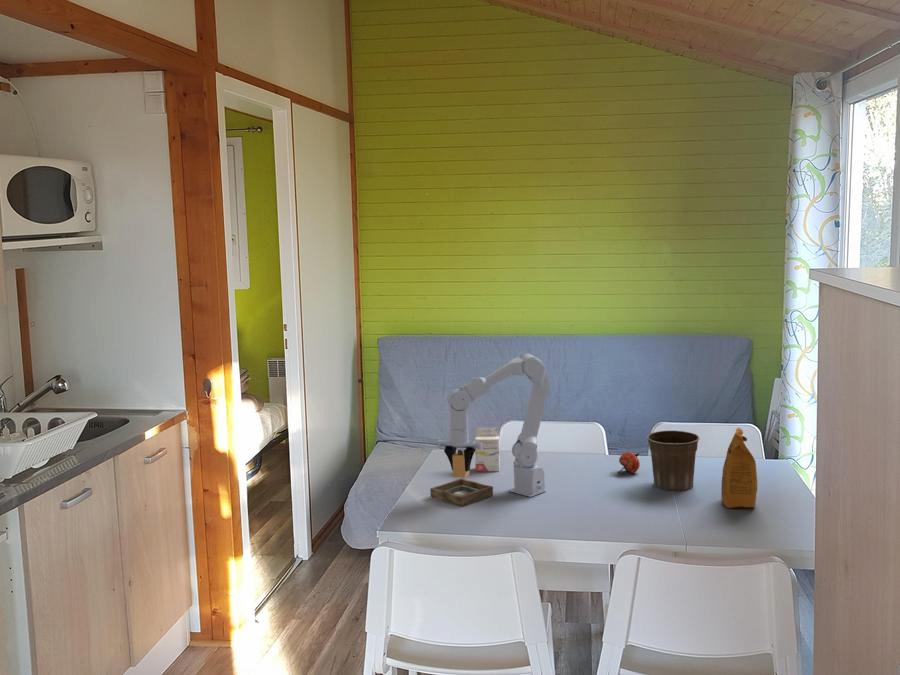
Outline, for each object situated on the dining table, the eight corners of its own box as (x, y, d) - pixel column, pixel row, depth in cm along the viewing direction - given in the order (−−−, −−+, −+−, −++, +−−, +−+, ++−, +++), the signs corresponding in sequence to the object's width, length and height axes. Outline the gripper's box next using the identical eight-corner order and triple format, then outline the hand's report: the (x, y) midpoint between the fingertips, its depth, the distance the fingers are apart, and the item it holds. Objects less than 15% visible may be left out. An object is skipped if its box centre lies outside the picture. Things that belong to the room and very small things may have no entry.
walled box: (493, 495, 270) (492, 486, 270) (461, 506, 260) (461, 497, 260) (461, 487, 280) (461, 478, 280) (430, 497, 270) (430, 488, 270)
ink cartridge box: (475, 471, 297) (473, 430, 295) (476, 467, 302) (474, 427, 300) (499, 471, 296) (498, 430, 294) (500, 467, 301) (499, 427, 299)
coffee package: (755, 497, 258) (755, 426, 256) (758, 511, 247) (758, 437, 244) (720, 496, 261) (720, 426, 258) (722, 509, 249) (722, 436, 246)
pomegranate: (625, 483, 285) (648, 464, 284) (611, 466, 285) (634, 447, 284) (621, 479, 292) (644, 460, 292) (608, 462, 292) (630, 444, 292)
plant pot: (679, 497, 262) (679, 445, 260) (636, 485, 274) (636, 437, 272) (709, 485, 272) (709, 436, 270) (667, 475, 284) (667, 428, 282)
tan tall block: (469, 474, 271) (468, 449, 270) (465, 477, 267) (464, 452, 266) (457, 473, 272) (456, 448, 271) (453, 476, 268) (452, 451, 267)
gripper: (485, 426, 268) (486, 467, 270) (442, 423, 274) (444, 464, 275) (477, 431, 262) (479, 474, 264) (434, 429, 267) (436, 471, 269)
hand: (460, 469), depth 269 cm, fingers closed on tan tall block, 4 cm apart
